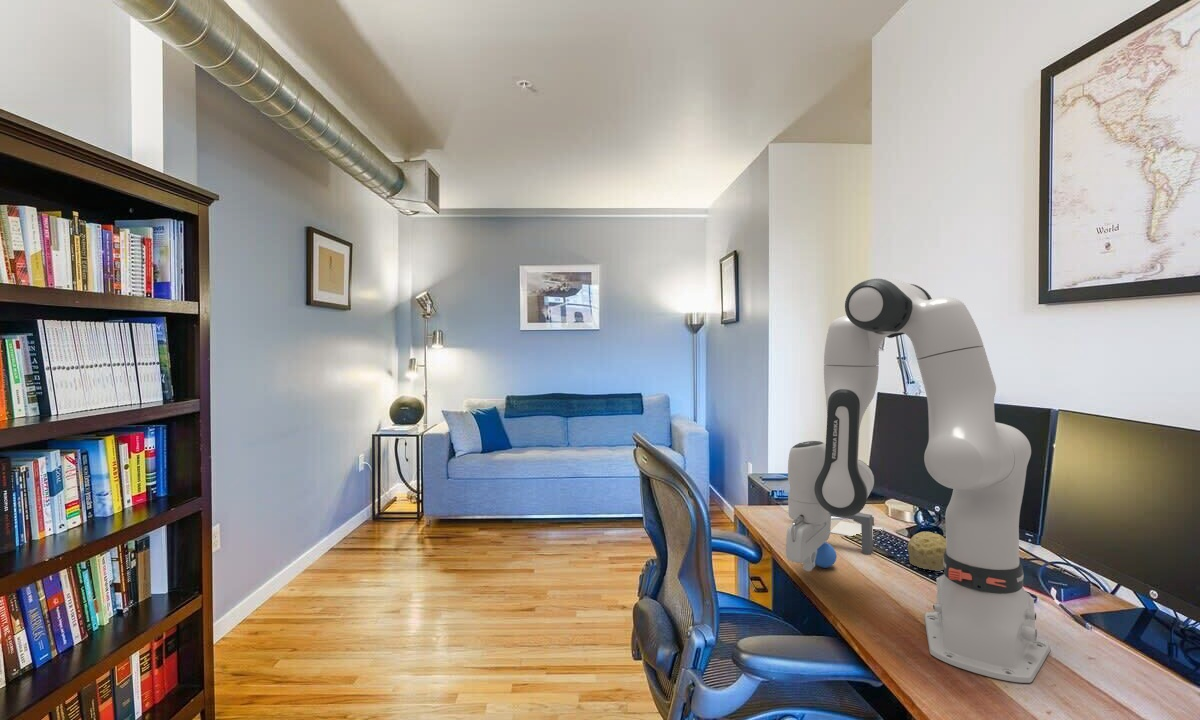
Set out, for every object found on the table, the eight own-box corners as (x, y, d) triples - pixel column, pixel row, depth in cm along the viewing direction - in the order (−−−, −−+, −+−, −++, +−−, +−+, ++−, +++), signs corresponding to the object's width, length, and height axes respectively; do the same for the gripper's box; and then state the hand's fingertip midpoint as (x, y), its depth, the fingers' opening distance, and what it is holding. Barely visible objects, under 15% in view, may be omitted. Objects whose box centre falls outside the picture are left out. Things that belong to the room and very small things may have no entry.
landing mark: (874, 540, 147) (874, 539, 147) (829, 532, 154) (829, 531, 154) (883, 528, 156) (883, 528, 156) (840, 521, 164) (840, 521, 164)
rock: (957, 590, 124) (975, 551, 124) (915, 567, 124) (933, 529, 124) (930, 576, 133) (947, 540, 134) (891, 555, 133) (908, 519, 134)
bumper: (874, 525, 159) (873, 517, 159) (868, 526, 159) (868, 518, 159) (858, 519, 165) (858, 511, 165) (853, 520, 164) (853, 512, 164)
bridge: (870, 554, 137) (869, 517, 137) (811, 543, 146) (810, 508, 146) (873, 551, 139) (872, 514, 139) (814, 540, 149) (813, 505, 149)
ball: (832, 573, 126) (832, 548, 126) (807, 567, 130) (806, 543, 130) (839, 565, 131) (839, 541, 131) (814, 560, 135) (814, 536, 135)
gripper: (806, 525, 113) (807, 588, 113) (835, 502, 129) (836, 558, 129) (777, 519, 117) (778, 580, 117) (809, 498, 133) (810, 552, 133)
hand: (809, 568), depth 123 cm, fingers closed
